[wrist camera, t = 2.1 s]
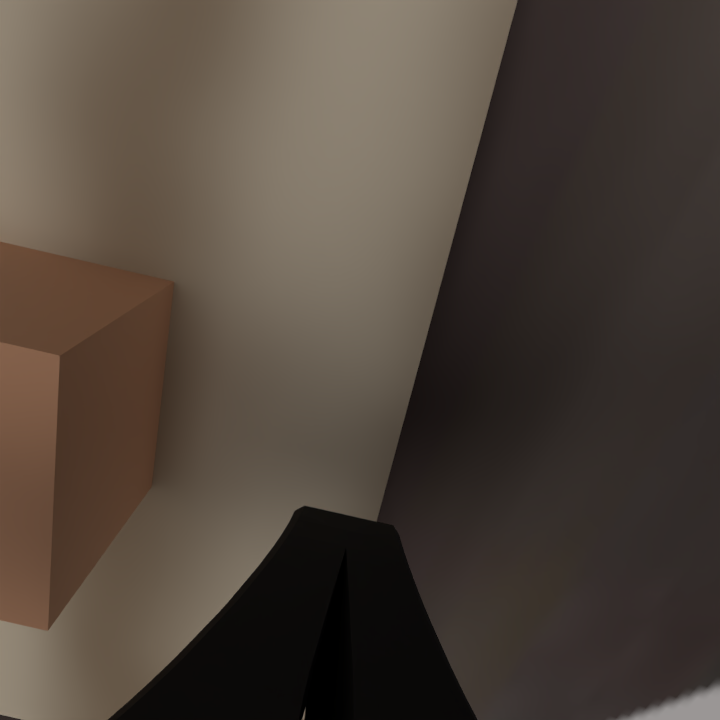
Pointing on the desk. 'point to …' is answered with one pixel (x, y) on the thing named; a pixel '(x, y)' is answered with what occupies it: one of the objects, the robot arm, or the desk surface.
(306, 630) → the robot arm
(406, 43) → the trap board
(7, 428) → the block
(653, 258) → the desk surface
